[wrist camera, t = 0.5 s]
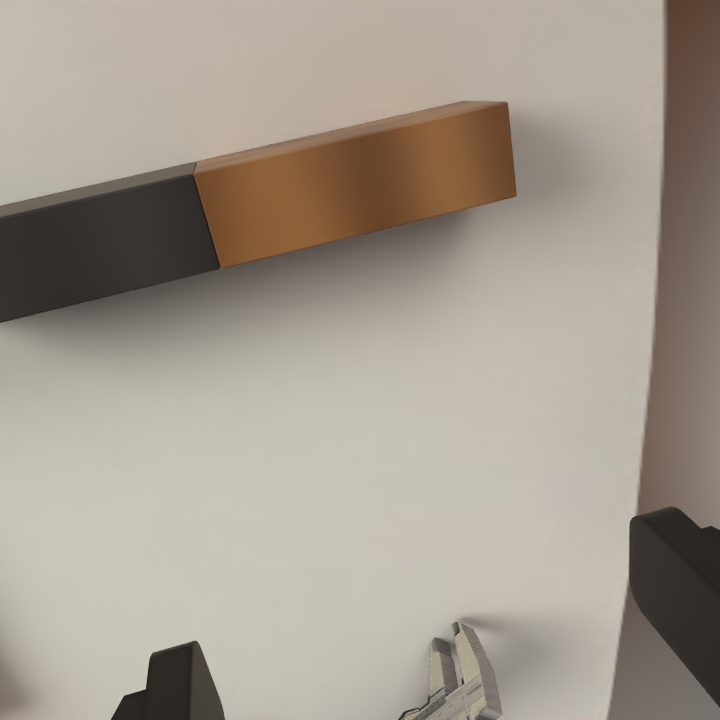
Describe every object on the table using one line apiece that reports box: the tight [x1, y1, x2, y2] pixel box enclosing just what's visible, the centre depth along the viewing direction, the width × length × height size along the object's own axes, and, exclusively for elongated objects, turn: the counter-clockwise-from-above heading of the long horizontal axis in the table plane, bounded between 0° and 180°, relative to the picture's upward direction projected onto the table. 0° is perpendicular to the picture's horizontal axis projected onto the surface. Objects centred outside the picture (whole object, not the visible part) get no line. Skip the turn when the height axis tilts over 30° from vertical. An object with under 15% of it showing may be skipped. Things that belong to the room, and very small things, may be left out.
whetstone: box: [0, 101, 516, 323], centre depth 22 cm, size 20×3×4 cm, turn 102°
